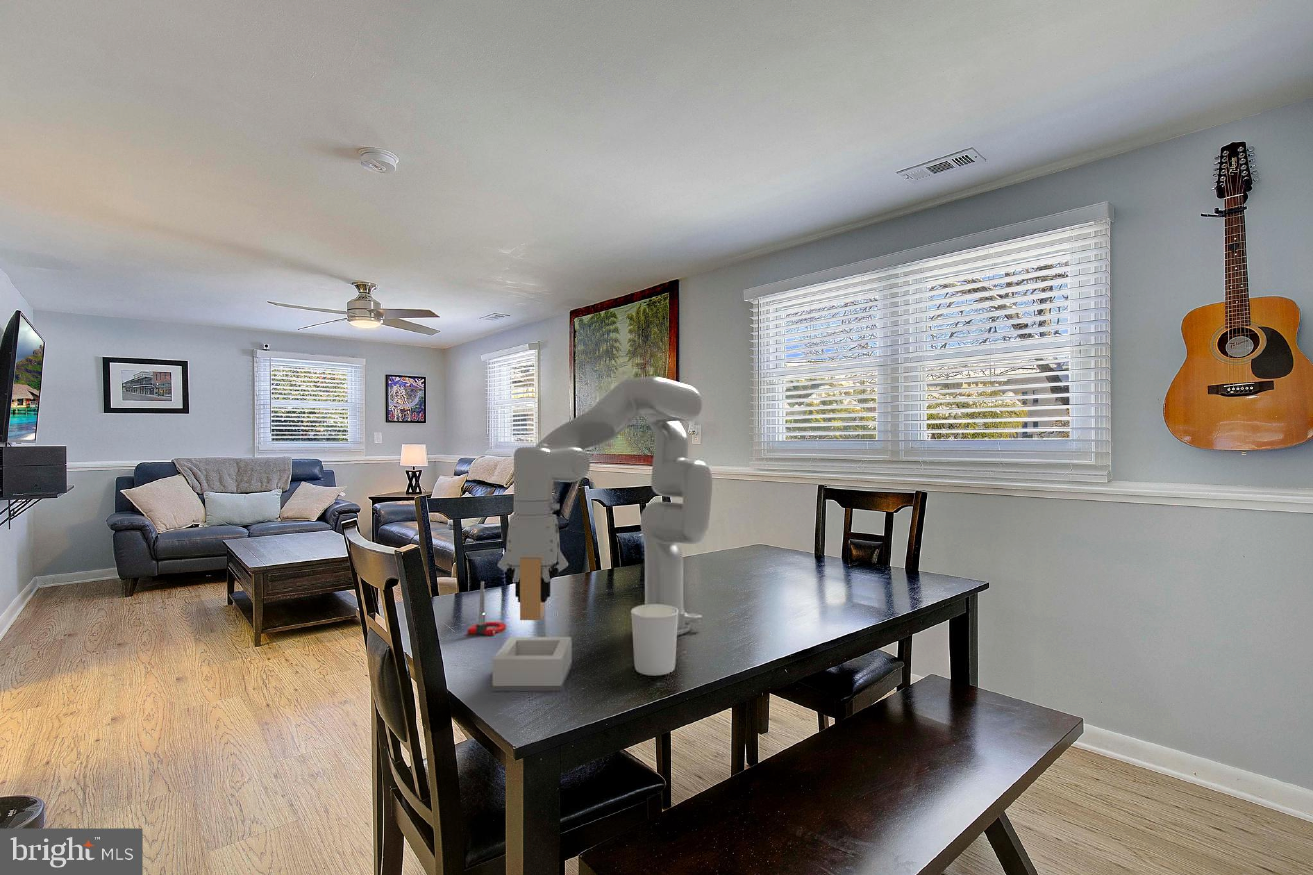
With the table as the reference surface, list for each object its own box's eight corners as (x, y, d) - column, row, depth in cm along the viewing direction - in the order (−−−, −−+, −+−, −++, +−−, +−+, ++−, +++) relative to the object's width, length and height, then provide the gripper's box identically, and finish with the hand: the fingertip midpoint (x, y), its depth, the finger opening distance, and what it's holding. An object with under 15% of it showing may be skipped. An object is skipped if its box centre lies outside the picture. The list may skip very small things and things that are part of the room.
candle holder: (630, 660, 133) (630, 604, 133) (675, 659, 134) (675, 603, 134) (632, 678, 123) (632, 617, 123) (681, 676, 124) (681, 616, 124)
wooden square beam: (545, 613, 126) (545, 553, 126) (540, 620, 121) (540, 558, 121) (525, 613, 126) (525, 553, 126) (520, 620, 121) (520, 558, 121)
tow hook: (480, 625, 160) (463, 635, 151) (481, 575, 161) (464, 581, 152) (511, 627, 159) (496, 636, 150) (512, 576, 160) (497, 582, 151)
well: (571, 665, 130) (571, 637, 130) (561, 690, 117) (561, 659, 117) (509, 665, 131) (509, 637, 131) (492, 690, 118) (492, 659, 118)
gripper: (577, 506, 128) (577, 596, 127) (496, 506, 128) (496, 596, 128) (572, 510, 120) (572, 605, 120) (485, 510, 120) (485, 605, 120)
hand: (532, 599), depth 124 cm, fingers closed on wooden square beam, 4 cm apart
